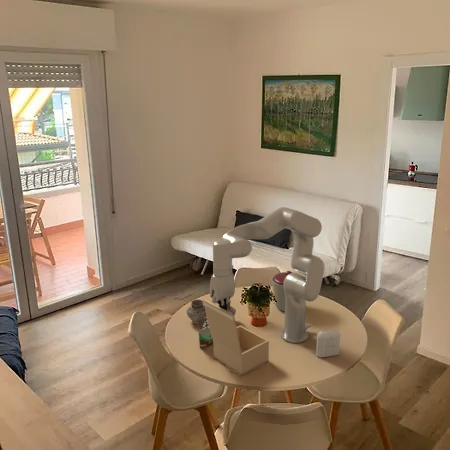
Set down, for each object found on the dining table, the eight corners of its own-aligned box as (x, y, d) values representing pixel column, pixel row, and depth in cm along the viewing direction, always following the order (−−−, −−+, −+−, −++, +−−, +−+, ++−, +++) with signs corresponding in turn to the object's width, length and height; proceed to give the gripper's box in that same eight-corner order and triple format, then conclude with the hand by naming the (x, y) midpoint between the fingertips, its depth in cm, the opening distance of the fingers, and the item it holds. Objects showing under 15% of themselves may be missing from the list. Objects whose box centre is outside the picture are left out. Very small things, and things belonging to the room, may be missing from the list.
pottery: (235, 327, 231) (235, 305, 227) (185, 326, 232) (184, 305, 229) (236, 316, 242) (236, 295, 238) (188, 315, 243) (187, 295, 240)
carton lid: (204, 299, 194) (202, 300, 194) (233, 314, 181) (232, 315, 181) (213, 337, 203) (211, 338, 202) (241, 354, 189) (240, 355, 189)
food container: (212, 350, 211) (211, 331, 208) (198, 349, 212) (198, 330, 209) (217, 336, 222) (217, 318, 220) (205, 335, 224) (204, 317, 221)
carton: (240, 344, 216) (240, 325, 213) (268, 361, 202) (268, 340, 200) (213, 357, 206) (213, 337, 203) (241, 375, 192) (241, 354, 190)
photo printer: (335, 350, 210) (337, 325, 206) (340, 355, 206) (341, 330, 202) (314, 353, 208) (315, 328, 204) (318, 358, 204) (319, 333, 200)
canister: (305, 301, 257) (307, 266, 251) (303, 317, 240) (305, 279, 234) (273, 298, 261) (273, 263, 254) (268, 313, 244) (269, 276, 238)
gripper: (230, 263, 192) (230, 304, 198) (202, 273, 183) (203, 315, 188) (242, 268, 187) (242, 310, 192) (214, 278, 178) (214, 322, 183)
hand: (223, 312), depth 190 cm, fingers closed
